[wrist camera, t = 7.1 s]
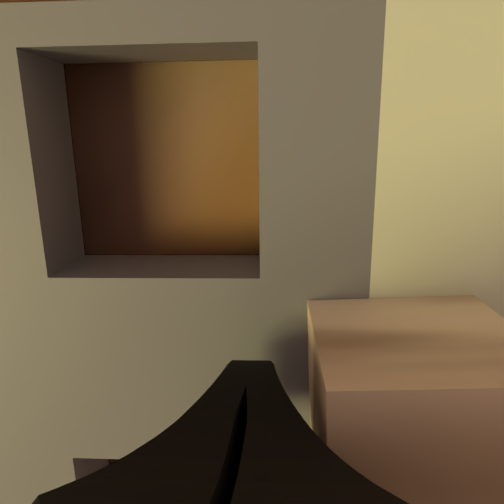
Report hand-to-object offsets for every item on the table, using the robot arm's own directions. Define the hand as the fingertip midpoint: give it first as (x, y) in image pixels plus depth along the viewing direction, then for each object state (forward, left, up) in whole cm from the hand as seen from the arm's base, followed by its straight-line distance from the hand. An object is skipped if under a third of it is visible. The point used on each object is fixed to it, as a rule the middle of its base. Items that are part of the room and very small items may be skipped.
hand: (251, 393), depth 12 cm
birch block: (0, -4, -1) cm, 4 cm away
